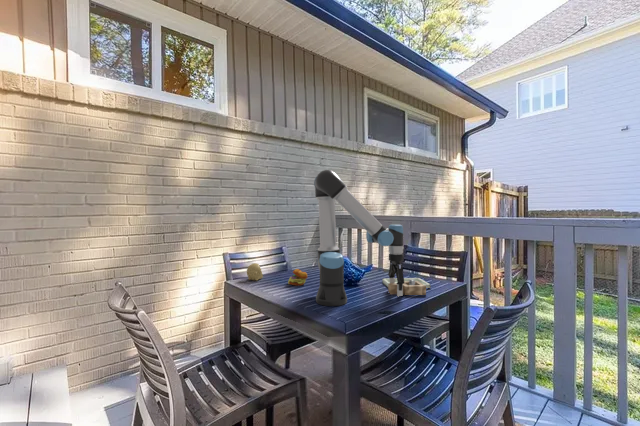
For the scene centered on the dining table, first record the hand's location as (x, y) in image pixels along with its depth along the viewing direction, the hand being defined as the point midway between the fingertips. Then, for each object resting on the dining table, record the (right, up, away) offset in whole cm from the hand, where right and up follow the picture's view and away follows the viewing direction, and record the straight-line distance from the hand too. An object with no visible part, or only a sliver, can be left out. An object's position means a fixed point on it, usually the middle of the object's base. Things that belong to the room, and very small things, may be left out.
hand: (395, 293), depth 174 cm
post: (+9, 0, +1) cm, 9 cm away
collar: (+5, 0, 0) cm, 5 cm away
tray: (+10, 0, +17) cm, 19 cm away
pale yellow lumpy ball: (-82, 0, +31) cm, 87 cm away
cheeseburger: (-54, 0, +20) cm, 58 cm away
